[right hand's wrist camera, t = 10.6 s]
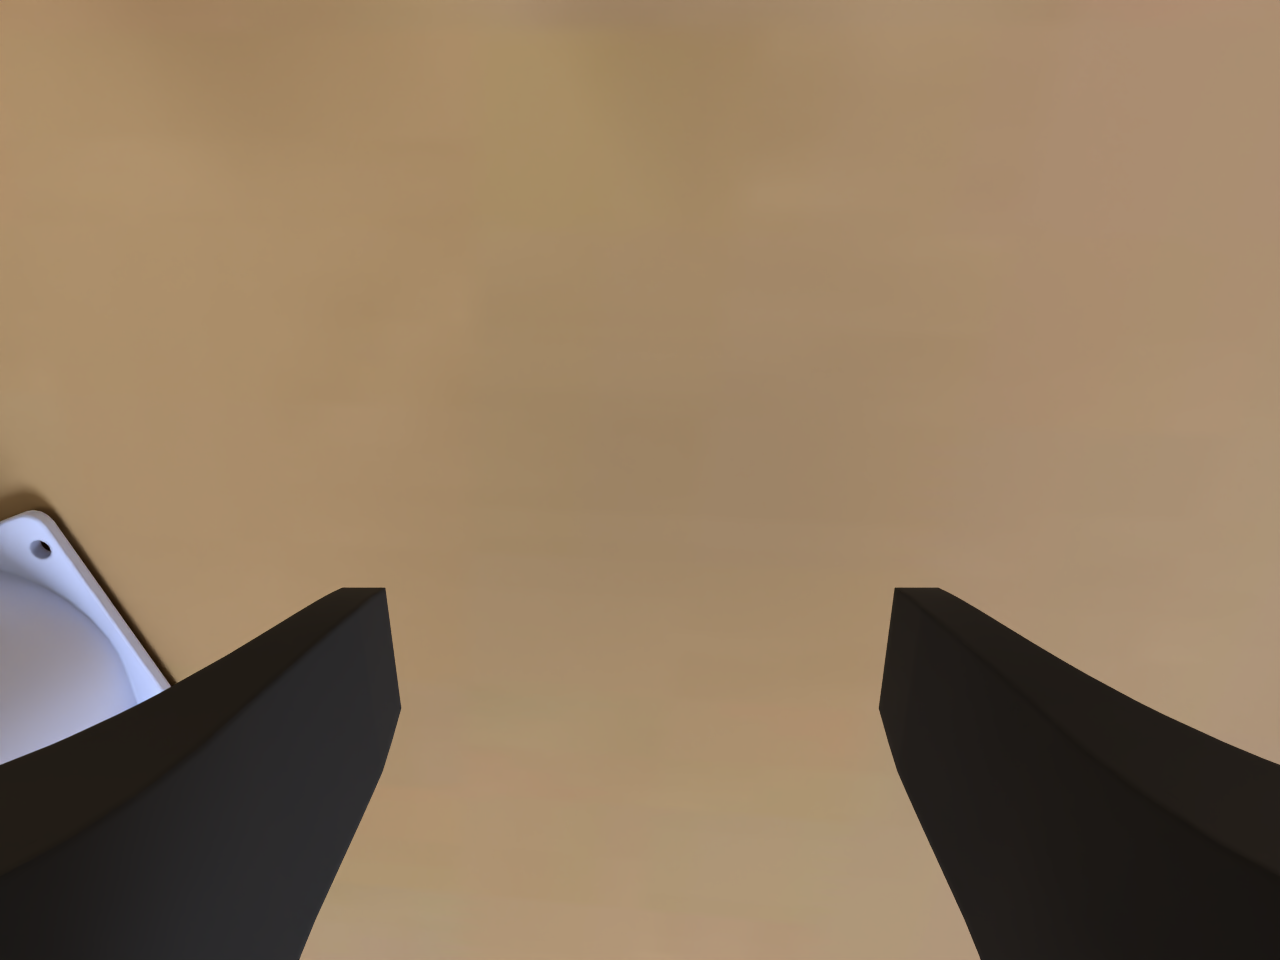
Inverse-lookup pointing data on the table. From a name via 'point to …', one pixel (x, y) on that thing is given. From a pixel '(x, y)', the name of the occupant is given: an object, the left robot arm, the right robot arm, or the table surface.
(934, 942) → the table surface
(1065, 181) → the table surface
